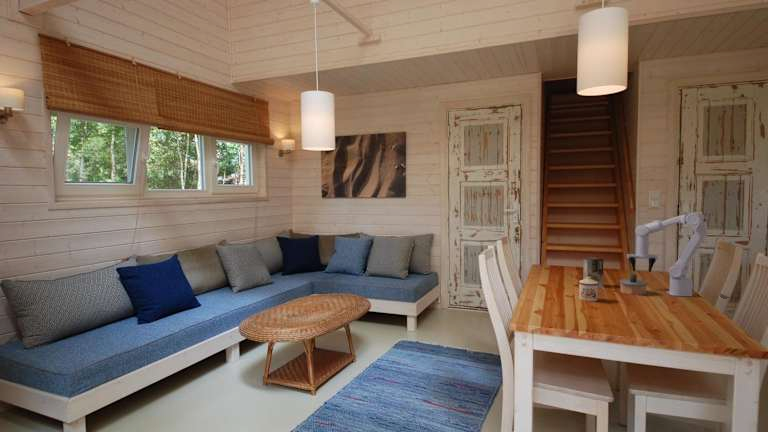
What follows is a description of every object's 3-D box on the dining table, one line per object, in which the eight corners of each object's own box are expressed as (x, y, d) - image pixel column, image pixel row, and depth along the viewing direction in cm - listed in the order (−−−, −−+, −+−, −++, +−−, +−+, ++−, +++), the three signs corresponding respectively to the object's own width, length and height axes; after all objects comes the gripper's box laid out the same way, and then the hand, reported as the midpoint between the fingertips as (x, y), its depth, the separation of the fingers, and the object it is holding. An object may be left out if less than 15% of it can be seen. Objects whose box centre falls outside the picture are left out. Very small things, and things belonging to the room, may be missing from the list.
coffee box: (598, 284, 254) (599, 257, 253) (603, 287, 247) (603, 259, 246) (582, 284, 255) (583, 257, 254) (586, 287, 248) (587, 259, 247)
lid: (641, 281, 239) (641, 272, 239) (651, 286, 226) (652, 277, 226) (615, 280, 241) (616, 271, 241) (624, 285, 228) (625, 276, 228)
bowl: (640, 290, 239) (640, 281, 238) (647, 295, 228) (648, 285, 228) (618, 289, 241) (618, 280, 241) (624, 294, 230) (625, 285, 230)
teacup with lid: (578, 300, 219) (579, 277, 218) (578, 296, 227) (578, 274, 226) (605, 303, 214) (605, 279, 213) (604, 298, 222) (604, 276, 222)
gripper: (629, 247, 239) (628, 272, 239) (659, 248, 234) (658, 273, 235) (626, 245, 245) (625, 269, 246) (656, 246, 241) (655, 270, 242)
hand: (641, 271), depth 241 cm, fingers open, 7 cm apart
